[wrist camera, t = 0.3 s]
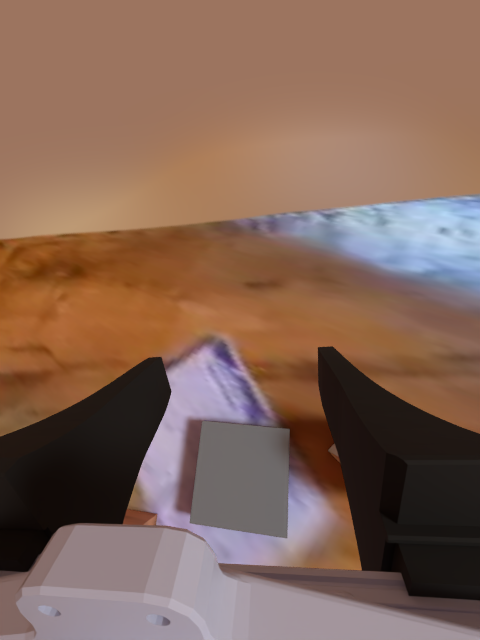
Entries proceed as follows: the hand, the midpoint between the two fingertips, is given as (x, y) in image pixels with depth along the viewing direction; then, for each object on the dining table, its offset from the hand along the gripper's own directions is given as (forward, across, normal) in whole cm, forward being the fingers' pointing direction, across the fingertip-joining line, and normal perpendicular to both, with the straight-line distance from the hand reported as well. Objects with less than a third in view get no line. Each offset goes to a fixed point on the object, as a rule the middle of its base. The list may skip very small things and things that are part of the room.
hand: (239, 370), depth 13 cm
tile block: (+15, +4, +27) cm, 32 cm away
